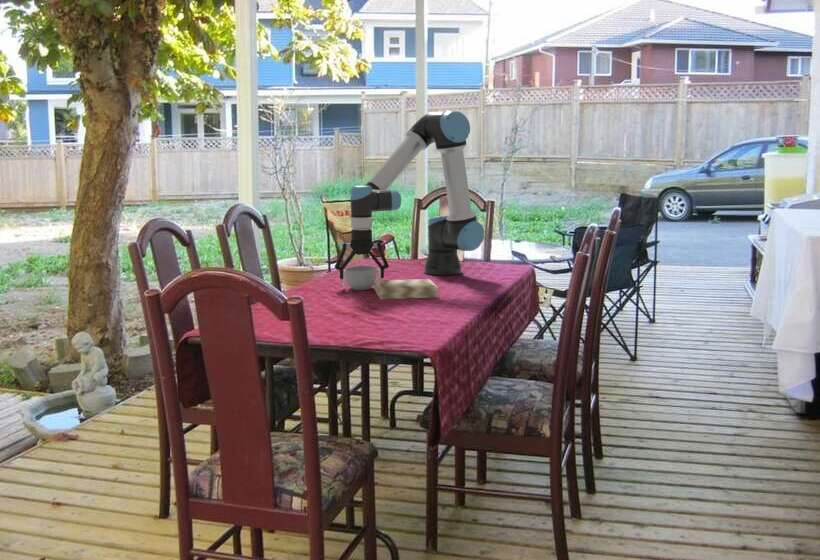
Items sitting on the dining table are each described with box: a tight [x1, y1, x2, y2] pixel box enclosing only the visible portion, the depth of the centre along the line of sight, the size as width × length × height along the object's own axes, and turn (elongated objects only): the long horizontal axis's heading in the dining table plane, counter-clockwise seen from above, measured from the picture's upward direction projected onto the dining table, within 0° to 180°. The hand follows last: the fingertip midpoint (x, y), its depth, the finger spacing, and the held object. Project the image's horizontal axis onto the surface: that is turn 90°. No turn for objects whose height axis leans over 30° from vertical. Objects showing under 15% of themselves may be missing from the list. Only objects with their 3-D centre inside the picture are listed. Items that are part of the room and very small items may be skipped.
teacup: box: [345, 264, 377, 291], centre depth 321 cm, size 14×11×8 cm
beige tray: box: [374, 278, 439, 300], centre depth 309 cm, size 20×18×4 cm
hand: (362, 287), depth 321 cm, fingers open, 12 cm apart
